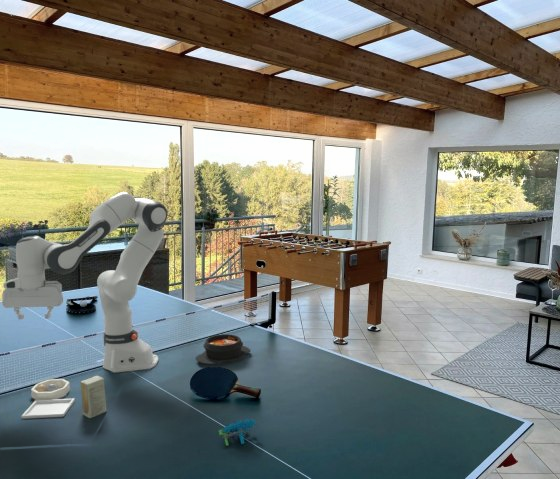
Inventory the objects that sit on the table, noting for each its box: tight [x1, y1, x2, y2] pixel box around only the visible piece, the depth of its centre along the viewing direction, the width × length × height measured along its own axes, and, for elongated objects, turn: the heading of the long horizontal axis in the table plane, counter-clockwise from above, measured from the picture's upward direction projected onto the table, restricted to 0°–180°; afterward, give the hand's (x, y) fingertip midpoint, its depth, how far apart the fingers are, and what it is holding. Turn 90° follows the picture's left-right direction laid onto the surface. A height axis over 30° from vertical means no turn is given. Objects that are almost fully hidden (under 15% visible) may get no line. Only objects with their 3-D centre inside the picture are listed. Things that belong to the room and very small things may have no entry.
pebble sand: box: [36, 384, 47, 392], centre depth 177 cm, size 4×4×4 cm
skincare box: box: [80, 375, 107, 419], centre depth 162 cm, size 6×4×12 cm
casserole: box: [195, 333, 252, 366], centre depth 211 cm, size 25×19×8 cm
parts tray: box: [20, 397, 76, 419], centre depth 165 cm, size 13×11×2 cm
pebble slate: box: [46, 384, 57, 392], centre depth 177 cm, size 4×4×4 cm
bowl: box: [30, 378, 71, 401], centre depth 177 cm, size 12×12×4 cm
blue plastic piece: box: [218, 418, 256, 447], centre depth 145 cm, size 11×6×10 cm
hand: (34, 318), depth 179 cm, fingers open, 8 cm apart
